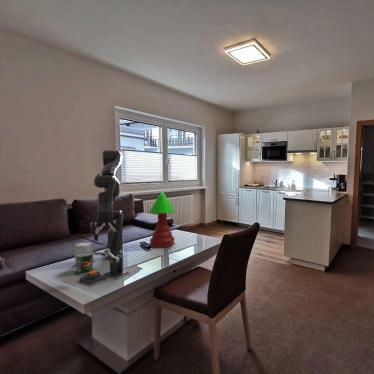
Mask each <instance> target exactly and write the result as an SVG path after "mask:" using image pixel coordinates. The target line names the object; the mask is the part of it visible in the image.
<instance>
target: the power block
mask: <svg viewBox="0 0 374 374" xmlns="http://www.w3.org/2000/svg"><path fill="white" fill-rule="evenodd" d="M96 271H97V270H96ZM106 279H107V275H105V274H101V272H100V271H97V274H96V275H92V276H89V272H87V273H85V275H84V276H82V277H79V281H80V282H83V283H86V284H88V285H93V284H97V283H98V282H99V283H100V282H101V281H103V280H106Z"/></svg>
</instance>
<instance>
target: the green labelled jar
mask: <svg viewBox="0 0 374 374" xmlns="http://www.w3.org/2000/svg"><path fill="white" fill-rule="evenodd" d="M93 251H94V242H80V243H77V244H74V266H77V263H76V255H77V254H80V253H84V252H92V263H94V261H95V260H94V259H95V258H94V253H93Z"/></svg>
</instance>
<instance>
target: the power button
mask: <svg viewBox="0 0 374 374" xmlns="http://www.w3.org/2000/svg"><path fill="white" fill-rule="evenodd" d="M88 273H89V276H92V275H96V274H97V270H96V269H95V270H94V269H93V270H92V271H90V272H88Z"/></svg>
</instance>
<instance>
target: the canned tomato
mask: <svg viewBox="0 0 374 374" xmlns="http://www.w3.org/2000/svg"><path fill="white" fill-rule="evenodd" d="M76 263H77V265H76V273H77V274H81V275H82V274H88V273H89V272H90V271H93V270H94V269H93V268H94V267H93V266H94V265H93V262H92V252H84V253H80V254H77V255H76Z"/></svg>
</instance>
